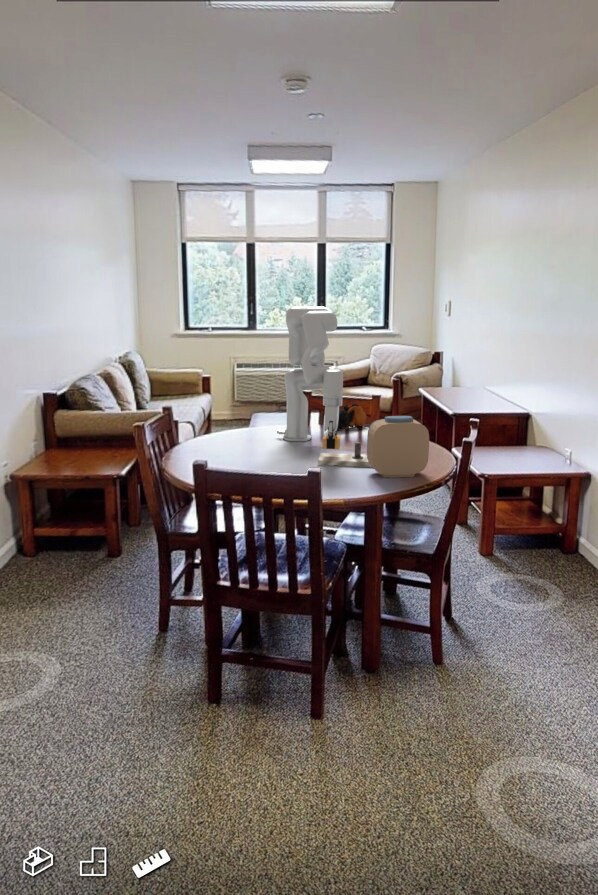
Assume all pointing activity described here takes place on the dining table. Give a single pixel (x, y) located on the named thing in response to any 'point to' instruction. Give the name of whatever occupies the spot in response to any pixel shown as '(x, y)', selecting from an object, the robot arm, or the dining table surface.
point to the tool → (351, 417)
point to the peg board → (345, 458)
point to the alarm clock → (398, 446)
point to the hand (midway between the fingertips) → (331, 445)
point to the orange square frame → (337, 441)
